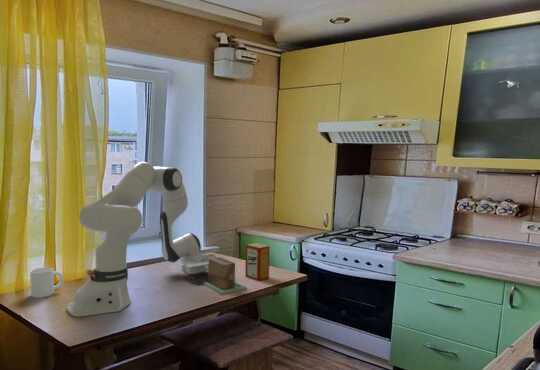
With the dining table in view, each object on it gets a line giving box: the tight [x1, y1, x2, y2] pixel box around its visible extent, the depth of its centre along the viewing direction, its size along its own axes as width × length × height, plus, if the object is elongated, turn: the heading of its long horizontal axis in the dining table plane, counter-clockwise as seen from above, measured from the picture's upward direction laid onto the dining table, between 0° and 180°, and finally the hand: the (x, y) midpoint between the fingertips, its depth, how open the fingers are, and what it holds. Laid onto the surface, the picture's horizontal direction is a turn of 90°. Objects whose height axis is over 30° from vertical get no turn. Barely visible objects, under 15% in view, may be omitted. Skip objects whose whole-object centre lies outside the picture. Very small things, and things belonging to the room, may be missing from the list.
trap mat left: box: [187, 276, 206, 286], centre depth 191 cm, size 5×10×1 cm, turn 37°
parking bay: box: [203, 281, 248, 295], centre depth 185 cm, size 13×16×1 cm
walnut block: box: [207, 256, 236, 291], centre depth 187 cm, size 6×13×11 cm, turn 37°
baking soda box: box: [244, 242, 270, 282], centre depth 199 cm, size 10×6×16 cm
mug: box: [29, 266, 64, 299], centre depth 171 cm, size 12×8×10 cm
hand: (213, 269), depth 192 cm, fingers closed, pressing on walnut block
